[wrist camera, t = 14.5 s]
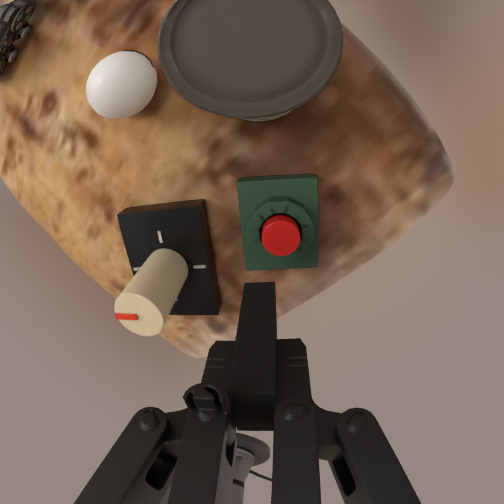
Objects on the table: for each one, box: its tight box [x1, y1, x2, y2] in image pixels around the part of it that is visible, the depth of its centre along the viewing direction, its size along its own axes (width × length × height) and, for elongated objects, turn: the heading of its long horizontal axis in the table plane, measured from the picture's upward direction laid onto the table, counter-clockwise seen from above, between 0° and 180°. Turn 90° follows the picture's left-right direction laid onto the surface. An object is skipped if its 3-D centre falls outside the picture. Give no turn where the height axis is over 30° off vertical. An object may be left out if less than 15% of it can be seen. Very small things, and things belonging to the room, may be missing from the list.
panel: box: [117, 199, 221, 315], centre depth 33 cm, size 14×10×3 cm
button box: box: [237, 174, 318, 271], centre depth 29 cm, size 10×8×4 cm
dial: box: [115, 249, 188, 336], centre depth 27 cm, size 5×5×9 cm
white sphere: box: [86, 50, 157, 119], centre depth 21 cm, size 10×7×7 cm
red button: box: [262, 215, 300, 256], centre depth 27 cm, size 4×4×2 cm
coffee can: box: [157, 0, 343, 121], centre depth 18 cm, size 10×10×14 cm
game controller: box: [0, 0, 35, 74], centre depth 16 cm, size 16×7×10 cm, turn 139°
